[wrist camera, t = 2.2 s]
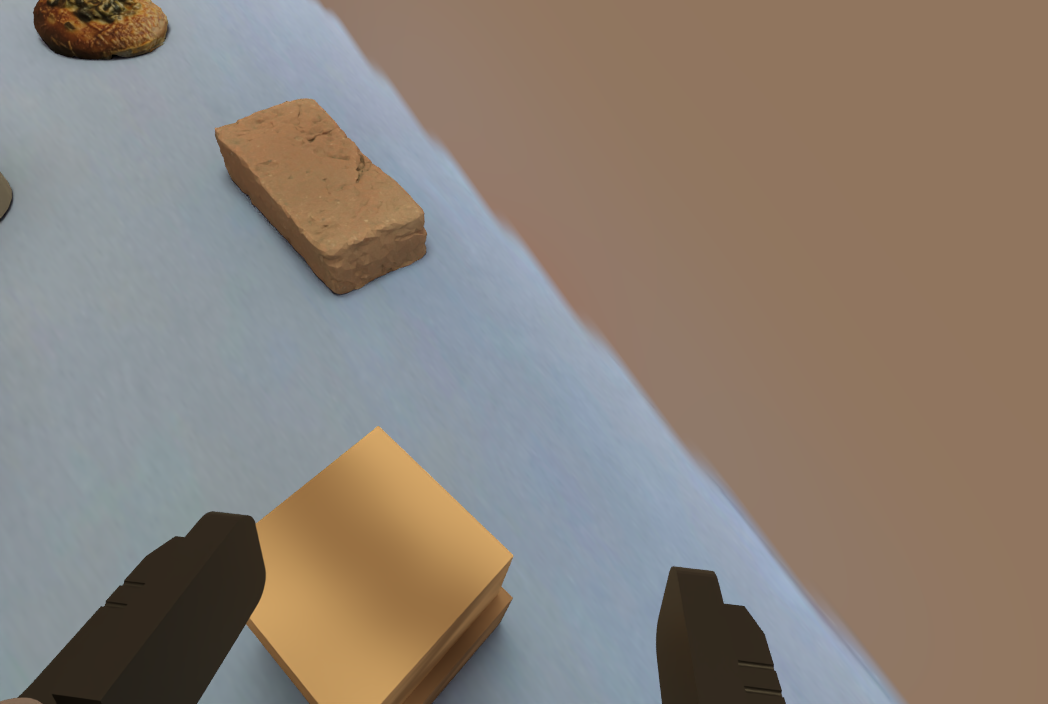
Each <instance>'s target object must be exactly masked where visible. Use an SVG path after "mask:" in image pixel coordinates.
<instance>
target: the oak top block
mask: <svg viewBox="0 0 1048 704" xmlns="http://www.w3.org/2000/svg"><path fill="white" fill-rule="evenodd" d="M256 528H257V533H258V537H259V542H260V546H261V551H262V555H263V560H264V564H265V569H266V581H265V586H264V590H263V594H262V596H261V599H260V601H259V603H258V605H257V607H256V608H255V610H254V611H253V613H252V615H251V616H250V619H251V620H252V622H253V623H254V624H255V625H256V627H257V628H258V629H259V630H260V632H261V633H262V634H263V635H264V636H265V638H266V639H267V640H268V641H269V643H270V644H271V645H272V646H273V648H274V649H275V650H276V651H277V653H278V654H279V655H280V656H281V658H282V659H283V660H284V661H285V663H286V664H287V665H288V666H289V668H290V669H291V670H292V671H293V673H294V674H295V675H296V676H297V678H298V679H299V680H300V681H301V682H302V684H303V685H304V686H305V687H306V689H307V690H308V691H309V692H310V694H311V695H312V696H313V697H314V699H315V700H316V701H317V702H318V704H402V703H403V702H404V701H405V700H406V699H407V698H408V696H409V695H410V694H411V693H412V692H413V691H414V690H415V688H416V687H417V686H418V685H419V684H420V683H421V682H422V680H423V679H424V678H425V677H426V676H427V675H428V674H429V672H430V671H431V670H432V669H433V668H434V667H435V666H436V665H437V663H438V662H439V661H440V660H441V659H442V658H443V657H444V655H445V654H446V653H447V652H448V651H449V650H450V649H451V647H452V646H453V645H454V644H455V643H456V642H457V641H458V639H459V638H460V637H461V636H462V635H463V634H464V633H465V631H466V630H467V629H468V628H469V627H470V626H471V625H472V623H473V622H474V621H475V620H476V619H477V618H478V617H479V615H480V614H481V613H482V612H483V611H484V610H485V609H486V607H487V606H488V605H489V604H490V603H491V602H492V601H493V599H494V598H495V597H496V596H497V595H498V593H499V590H500V588H501V585H502V583H503V581H504V578H505V576H506V573H507V571H508V568H509V566H510V563H511V561H512V558H513V555H512V554H511V553H510V552H509V551H508V550H507V549H506V548H505V547H504V546H503V545H502V544H501V543H500V542H499V541H498V540H497V539H496V538H495V537H494V536H493V535H492V534H490V533H489V532H488V531H487V530H486V529H485V528H484V527H483V526H482V525H481V524H480V523H479V522H478V521H477V520H476V519H475V518H474V517H473V516H472V515H471V514H470V513H469V512H468V511H467V510H465V509H464V508H463V507H462V506H461V505H460V504H459V503H458V502H457V501H456V500H455V499H454V498H453V497H452V496H451V495H450V494H449V493H448V492H447V491H446V490H445V489H444V488H443V487H442V486H440V485H439V484H438V483H437V482H436V481H435V480H434V479H433V478H432V477H431V476H430V475H429V474H428V473H427V472H426V471H425V470H424V469H423V468H422V467H421V466H420V465H419V464H418V463H417V462H415V461H414V460H413V459H412V458H411V457H410V456H409V455H408V454H407V453H406V452H405V451H404V450H403V449H402V448H401V447H400V446H399V445H398V444H397V443H396V442H395V441H394V440H393V439H391V438H390V437H389V436H388V435H387V434H386V433H385V432H384V431H383V430H382V429H381V428H380V427H379V426H378V427H376V428H375V429H374V430H373V431H371V432H370V433H369V434H368V435H366V436H365V437H364V438H363V439H361V440H360V441H359V442H358V443H356V444H355V445H354V446H353V447H351V448H350V449H349V450H348V451H346V452H345V453H344V454H343V455H341V456H340V457H339V458H338V459H336V460H335V461H334V462H333V463H331V464H330V465H329V466H328V467H326V468H325V469H324V470H323V471H321V472H320V473H319V474H318V475H316V476H315V477H314V478H313V479H311V480H310V481H309V482H308V483H306V484H305V485H304V486H303V487H301V488H300V489H299V490H298V491H296V492H295V493H294V494H293V495H291V496H290V497H289V498H288V499H286V500H285V501H284V502H283V503H281V504H280V505H279V506H278V507H276V508H275V509H274V510H273V511H271V512H270V513H269V514H268V515H266V516H265V517H264V518H263V519H261V520H260V521H259V522H258V523H256Z"/></svg>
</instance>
